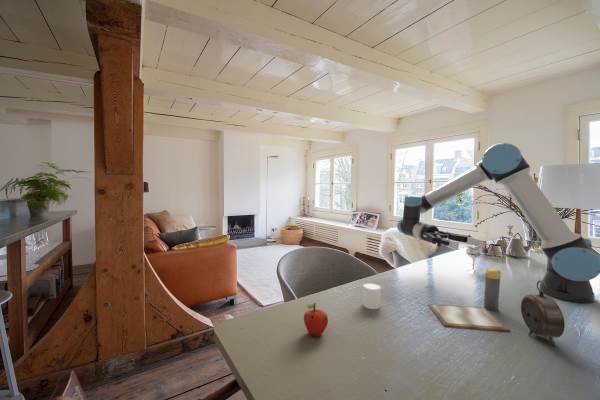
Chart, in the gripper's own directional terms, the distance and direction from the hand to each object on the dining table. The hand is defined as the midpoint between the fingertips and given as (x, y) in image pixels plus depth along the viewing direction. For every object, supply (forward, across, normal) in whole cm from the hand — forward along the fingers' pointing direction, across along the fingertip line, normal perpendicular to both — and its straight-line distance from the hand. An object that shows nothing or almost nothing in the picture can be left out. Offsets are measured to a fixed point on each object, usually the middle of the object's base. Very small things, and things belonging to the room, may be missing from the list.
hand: (471, 245), depth 98 cm
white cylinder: (-6, +38, -22) cm, 44 cm away
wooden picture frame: (+11, +14, -20) cm, 27 cm away
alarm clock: (+26, +5, -19) cm, 33 cm away
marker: (+10, 0, -20) cm, 22 cm away
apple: (+4, +64, -22) cm, 67 cm away
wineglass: (-20, -32, -21) cm, 43 cm away
